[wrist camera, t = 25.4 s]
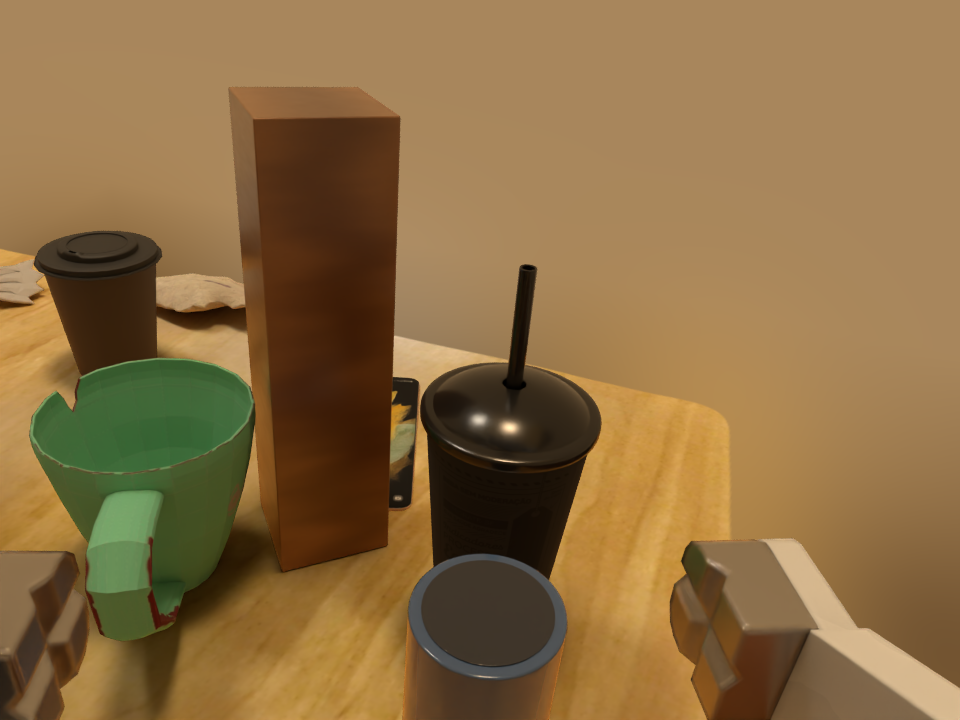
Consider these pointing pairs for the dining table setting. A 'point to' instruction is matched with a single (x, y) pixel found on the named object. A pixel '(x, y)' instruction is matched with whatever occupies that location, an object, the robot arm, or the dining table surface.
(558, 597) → the tumbler
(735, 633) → the robot arm
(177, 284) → the decorative stone
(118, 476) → the mug
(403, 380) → the smartphone
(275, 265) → the stand
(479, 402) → the drinking cup
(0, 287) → the fairy figurine
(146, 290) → the coffee cup
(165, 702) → the dining table surface
